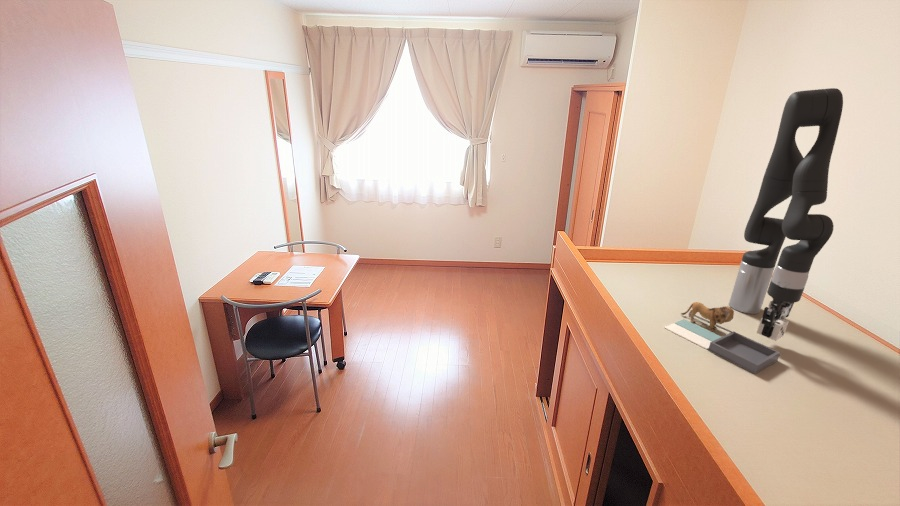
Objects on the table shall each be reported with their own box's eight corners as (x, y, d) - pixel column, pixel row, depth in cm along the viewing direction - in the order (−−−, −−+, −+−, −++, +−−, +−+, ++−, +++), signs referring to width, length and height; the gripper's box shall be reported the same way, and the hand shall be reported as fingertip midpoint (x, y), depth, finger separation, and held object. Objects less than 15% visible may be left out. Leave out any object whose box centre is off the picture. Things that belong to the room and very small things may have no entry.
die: (764, 328, 123) (769, 313, 121) (783, 336, 119) (789, 321, 117) (756, 332, 121) (761, 318, 119) (776, 341, 117) (781, 326, 115)
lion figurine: (731, 332, 127) (739, 307, 124) (724, 337, 124) (731, 312, 121) (684, 313, 138) (689, 290, 135) (676, 317, 135) (682, 294, 132)
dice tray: (730, 339, 123) (733, 331, 122) (777, 360, 113) (780, 352, 112) (708, 350, 117) (710, 342, 116) (754, 374, 107) (757, 365, 106)
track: (694, 315, 137) (694, 314, 137) (737, 334, 126) (737, 333, 126) (664, 327, 129) (664, 327, 129) (706, 349, 118) (706, 348, 118)
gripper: (783, 271, 120) (767, 320, 126) (760, 283, 113) (744, 334, 119) (814, 281, 114) (795, 332, 120) (792, 293, 107) (773, 346, 113)
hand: (770, 332), depth 120 cm, fingers closed on die, 5 cm apart
